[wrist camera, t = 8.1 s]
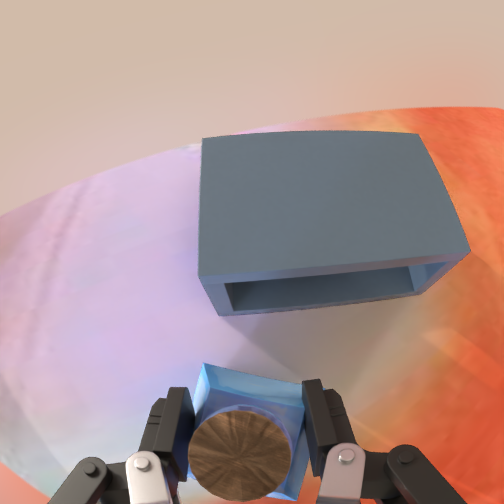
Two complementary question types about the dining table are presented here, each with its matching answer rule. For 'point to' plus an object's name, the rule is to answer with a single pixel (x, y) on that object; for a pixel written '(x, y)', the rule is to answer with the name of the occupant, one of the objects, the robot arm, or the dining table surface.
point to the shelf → (321, 220)
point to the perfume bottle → (248, 436)
